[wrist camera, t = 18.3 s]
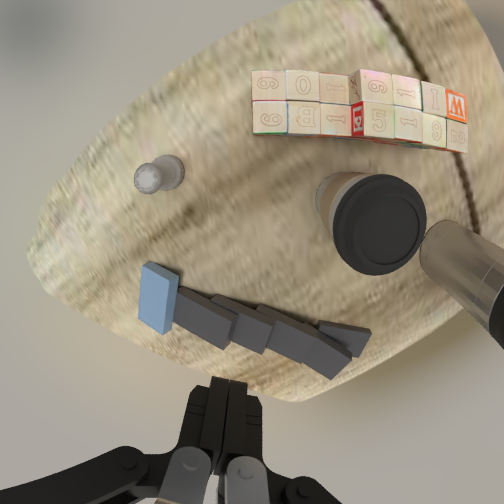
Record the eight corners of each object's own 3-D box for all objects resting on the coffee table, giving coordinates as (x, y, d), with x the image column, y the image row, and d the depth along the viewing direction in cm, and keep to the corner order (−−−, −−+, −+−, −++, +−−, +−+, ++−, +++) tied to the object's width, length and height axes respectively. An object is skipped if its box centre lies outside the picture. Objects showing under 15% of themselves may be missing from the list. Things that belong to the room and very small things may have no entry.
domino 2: (217, 293, 40) (276, 319, 37) (210, 321, 41) (266, 347, 39) (210, 299, 38) (272, 326, 36) (204, 328, 40) (261, 354, 37)
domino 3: (260, 303, 40) (318, 330, 38) (249, 329, 42) (303, 356, 40) (255, 309, 38) (316, 338, 36) (244, 336, 40) (300, 363, 38)
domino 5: (318, 317, 42) (367, 326, 42) (306, 342, 43) (355, 350, 44) (320, 325, 40) (371, 333, 41) (308, 350, 42) (358, 357, 42)
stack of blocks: (252, 137, 32) (250, 131, 21) (251, 88, 30) (249, 58, 19) (412, 148, 32) (469, 154, 20) (411, 104, 30) (468, 95, 18)
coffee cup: (385, 203, 35) (450, 239, 21) (336, 246, 37) (377, 305, 23) (345, 149, 32) (403, 154, 18) (292, 195, 35) (317, 230, 21)
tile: (179, 276, 37) (171, 329, 40) (152, 261, 38) (147, 313, 41) (169, 280, 35) (162, 335, 38) (142, 265, 36) (138, 318, 40)
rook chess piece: (171, 196, 35) (149, 210, 27) (145, 176, 34) (117, 185, 26) (192, 168, 34) (174, 174, 26) (164, 147, 33) (140, 149, 25)
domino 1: (183, 286, 39) (238, 315, 37) (178, 314, 41) (230, 343, 38) (174, 290, 38) (231, 321, 35) (170, 319, 39) (223, 350, 37)
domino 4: (304, 321, 41) (352, 352, 39) (286, 343, 43) (332, 372, 41) (302, 327, 39) (351, 360, 37) (283, 350, 41) (330, 380, 39)
